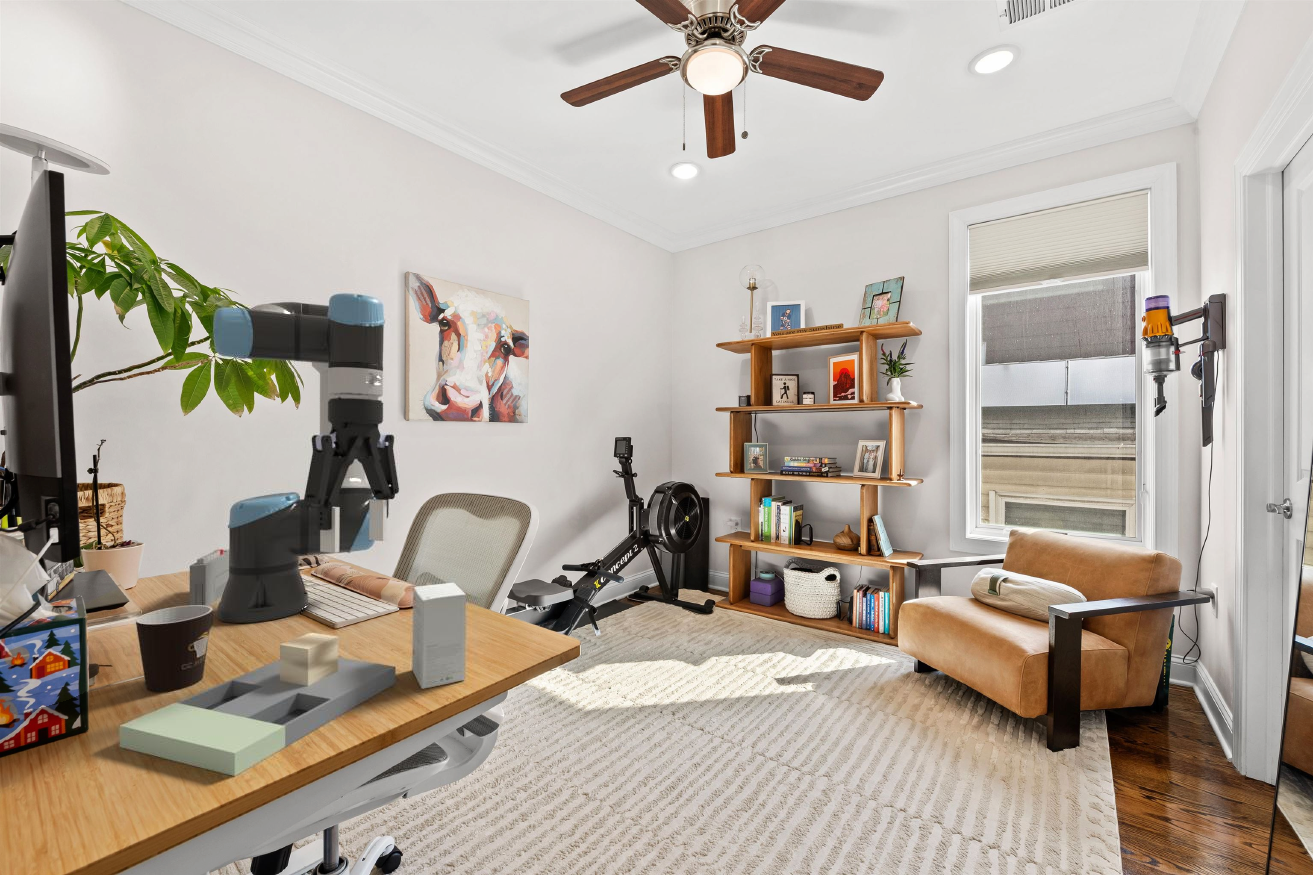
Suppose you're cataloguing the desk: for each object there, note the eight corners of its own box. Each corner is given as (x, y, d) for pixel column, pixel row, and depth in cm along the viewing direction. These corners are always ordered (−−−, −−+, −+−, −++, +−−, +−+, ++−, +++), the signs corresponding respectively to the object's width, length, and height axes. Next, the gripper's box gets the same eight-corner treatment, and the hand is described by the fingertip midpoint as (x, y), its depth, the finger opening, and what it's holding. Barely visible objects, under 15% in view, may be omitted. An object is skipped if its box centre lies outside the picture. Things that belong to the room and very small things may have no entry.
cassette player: (221, 589, 133) (221, 545, 132) (235, 588, 133) (235, 544, 133) (189, 610, 118) (189, 560, 117) (205, 609, 118) (205, 560, 118)
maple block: (310, 666, 85) (311, 632, 85) (338, 671, 84) (338, 636, 84) (279, 680, 80) (279, 644, 80) (308, 685, 79) (308, 649, 79)
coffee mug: (160, 700, 79) (160, 627, 79) (121, 689, 82) (121, 619, 82) (246, 668, 90) (246, 603, 90) (208, 659, 93) (209, 597, 93)
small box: (466, 680, 87) (467, 593, 87) (421, 690, 84) (421, 600, 84) (453, 661, 94) (454, 581, 94) (411, 669, 91) (412, 586, 90)
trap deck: (300, 666, 91) (300, 651, 91) (395, 683, 86) (395, 666, 86) (119, 746, 68) (119, 725, 68) (234, 776, 63) (234, 753, 63)
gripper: (315, 393, 78) (314, 562, 78) (423, 401, 98) (422, 535, 99) (272, 393, 80) (271, 558, 80) (387, 401, 100) (386, 532, 101)
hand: (354, 545), depth 89 cm, fingers open, 9 cm apart
